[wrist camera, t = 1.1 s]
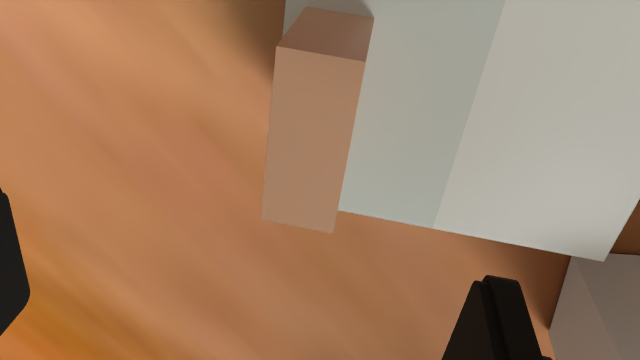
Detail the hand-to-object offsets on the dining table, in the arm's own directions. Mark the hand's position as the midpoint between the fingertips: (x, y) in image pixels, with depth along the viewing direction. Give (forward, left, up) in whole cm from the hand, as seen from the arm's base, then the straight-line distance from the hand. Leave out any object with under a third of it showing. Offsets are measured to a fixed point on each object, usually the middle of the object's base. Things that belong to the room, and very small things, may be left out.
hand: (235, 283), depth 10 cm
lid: (-6, 0, -12) cm, 14 cm away
